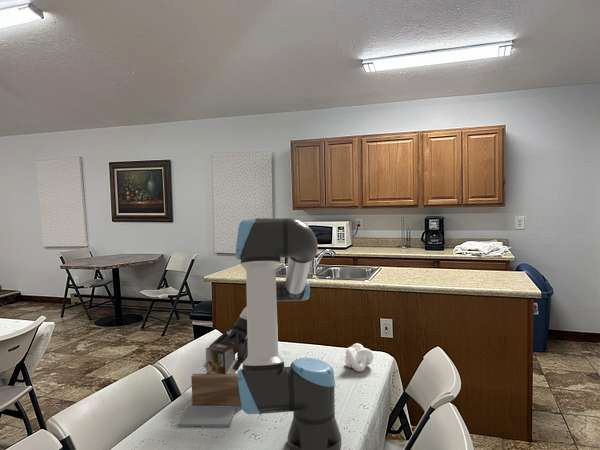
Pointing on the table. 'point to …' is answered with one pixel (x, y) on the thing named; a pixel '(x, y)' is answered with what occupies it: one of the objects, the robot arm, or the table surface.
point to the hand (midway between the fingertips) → (216, 372)
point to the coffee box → (219, 358)
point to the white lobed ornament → (358, 357)
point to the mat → (207, 416)
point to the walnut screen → (215, 389)
